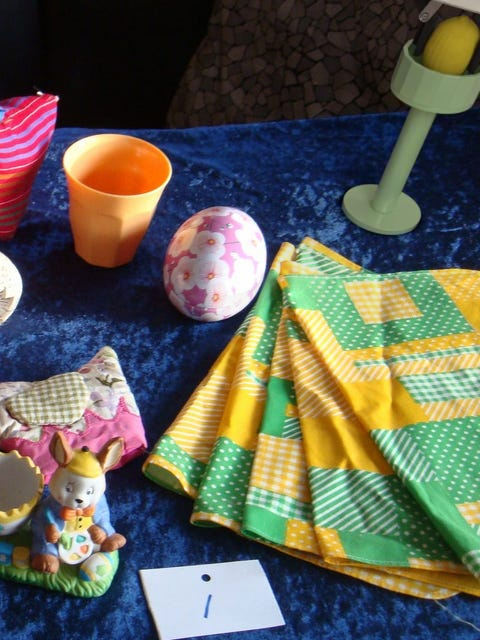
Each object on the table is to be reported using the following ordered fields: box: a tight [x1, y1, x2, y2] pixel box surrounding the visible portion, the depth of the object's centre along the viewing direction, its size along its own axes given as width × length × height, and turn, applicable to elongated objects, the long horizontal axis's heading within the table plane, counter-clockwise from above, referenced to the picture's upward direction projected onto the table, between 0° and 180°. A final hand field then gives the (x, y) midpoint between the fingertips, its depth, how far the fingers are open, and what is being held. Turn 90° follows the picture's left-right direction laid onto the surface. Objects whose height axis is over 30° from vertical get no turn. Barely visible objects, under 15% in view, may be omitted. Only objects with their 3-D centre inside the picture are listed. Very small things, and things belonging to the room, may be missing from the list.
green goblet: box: [341, 38, 480, 236], centre depth 105 cm, size 10×10×23 cm
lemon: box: [422, 14, 480, 76], centre depth 96 cm, size 6×6×8 cm
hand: (446, 58), depth 97 cm, fingers closed on lemon, 5 cm apart
